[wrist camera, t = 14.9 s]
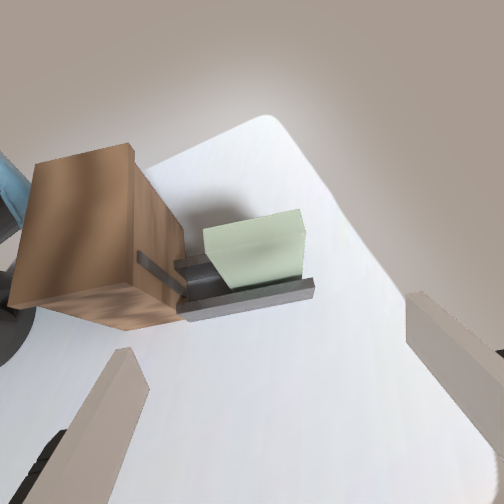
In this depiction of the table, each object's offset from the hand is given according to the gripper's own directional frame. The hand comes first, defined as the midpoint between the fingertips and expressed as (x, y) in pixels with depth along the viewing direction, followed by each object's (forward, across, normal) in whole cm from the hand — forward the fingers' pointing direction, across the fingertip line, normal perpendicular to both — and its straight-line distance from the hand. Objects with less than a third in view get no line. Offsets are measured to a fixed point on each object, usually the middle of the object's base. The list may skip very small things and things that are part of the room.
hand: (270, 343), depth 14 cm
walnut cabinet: (+27, -15, -6) cm, 32 cm away
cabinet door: (+24, 0, -9) cm, 25 cm away
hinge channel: (+24, -3, -9) cm, 26 cm away
